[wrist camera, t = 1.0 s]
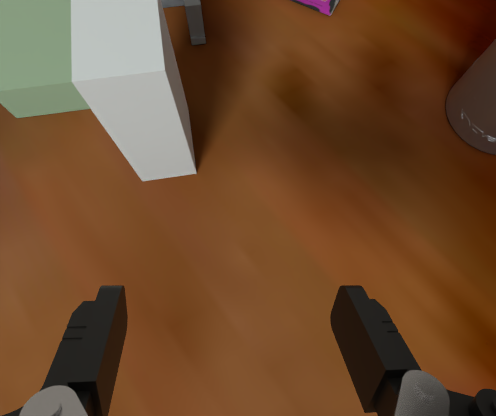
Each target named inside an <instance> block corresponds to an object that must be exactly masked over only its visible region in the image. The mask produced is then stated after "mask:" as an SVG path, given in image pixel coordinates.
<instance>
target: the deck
mask: <svg viewBox="0 0 496 416" xmlns="http://www.w3.org/2000/svg"><path fill="white" fill-rule="evenodd" d="M161 3H162V7H163V8H165V7H174V6H183V5H185V10H186V15H187V21H188V26H189V32H190V37H191V43H192V45H198V44H206V40H205V33H204V25H203V18H202V10H201V3H200V0H161ZM0 103H1V104H2V105H3V106H4V107H5V108H6V109H7V110H8V111H10V112H11V113H12V114H13V115H14V116H15V117H16V118H22V117H30V116H37V115H45V114H53V113H60V112H68V111H76V110H83V109H91V108H90V107H89V105H88V104H87V103H86V101H85V100H84V98H83V97H82V96H81V94H80V93H79V91H78V90H77V89H76V87H75V86H74V84H73V83H72V61H71V0H0Z"/></svg>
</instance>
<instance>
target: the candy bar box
mask: <svg viewBox="0 0 496 416" xmlns="http://www.w3.org/2000/svg"><path fill="white" fill-rule="evenodd" d="M291 1H293V2H296V3H298V4H301V5H304V6H306V7H309V8H311V9H314V10H316V11H319V12H321V13H324V14H326V15H329V16H331V14H332V13H333V11H334V9H335V7H336V6H337V4H338V2H339V1H340V0H291Z"/></svg>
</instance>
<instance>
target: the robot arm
mask: <svg viewBox="0 0 496 416" xmlns="http://www.w3.org/2000/svg"><path fill="white" fill-rule="evenodd" d="M446 112H447V117H448V119H449V122H450V124H451V126H452V127H453V129H454V130H455V132H456V133H457V134H458V135H459V136H460V137H461V138H462V139H463V140H464V141H465V142H467V143H468V144H469V145H471V146H473V147H475V148H477V149H479V150H480V151H484V152H487V153H490V154H496V39H495V40H494V41H493V43H492V44H491V45H490V46H489V47H488V48H487V49H486V50H485V51H484V53H483V54H482V55H481V56H480V57H479V58H478V59H477V60H476V61H475V62H474V63H473V65H472V66H471V67H470V68H469V69H468V70H467V71H466V72H465V74H464V75H463V76H462V77H461V78H460V79H459V80H458V81H457V82H456V84H455V85H454V86H453V87H452V89H451V90H450V91H449V94H448V96H447V99H446ZM331 327H332V330H333V333H334V335H335V338H336V341H337V343H338V346H339V348H340V351H341V353H342V356H343V358H344V361H345V364H346V366H347V369H348V371H349V374H350V376H351V379H352V381H353V384H354V387H355V389H356V392H357V394H358V397H359V399H360V402H361V404H362V407H363V410H364V412H365V413H370V412H377V414H378V416H496V391H495V390H492V389H482V390H480V391H479V392H478V393H477V394H476V396H475V397H472V396H468V395H464V394H460V393H457V392H453V391H449V390H446V389H445V387H444V386H443V385H442V384H441V383H440V382H439V381H438V380H437V379H436V378H435V377H433V376H432V375H430V374H428V373H426V372H424V371H422V370H421V369H420V367H419V365H418V364H417V362H416V360H415V358H414V357H413V355H412V353H411V352H410V350H409V348H408V347H407V345H406V343H405V341H404V340H403V338H402V336H401V335H400V333H398V329H397V328H396V326H395V324H394V323H393V322H392V319H391V318H390V316H389V314H388V312H387V311H386V309H385V308H384V307H383V306H382V305H380V304H379V303H378V302H377V301H376V300H375V299H369V298H368V296H367V294H366V292H365V290H364V289H363V287H362V286H340V288H339V290H338V293H337V296H336V299H335V302H334V305H333V308H332V311H331ZM126 331H127V307H126V297H125V288H124V286H101V287H100V289H99V292H98V295H97V297H96V300H95V301H83V302H82V303H81V305H80V306H79V307H78V308H77V309H76V310H75V311H74V312H73V313H72V315H71V318H70V320H69V323H68V325H67V329H66V330H65V333H64V335H63V338H62V341H61V343H60V345H59V347H58V350H57V352H56V355H55V357H54V360H53V362H52V365H51V367H50V370H49V372H48V375H47V377H46V380H45V382H44V384H43V386H42V388H41V390H40V391H39V392H38V393H36V394H35V395H34V396H32V397H31V398H30V399H29V400H28V401H27V402H26V404H25V405H24V406H23V407H21V408H19V409H17V410H16V411H13V412H11V413H8V414H5V415H2V416H108V412H109V408H110V403H111V399H112V394H113V390H114V385H115V381H116V376H117V372H118V367H119V363H120V358H121V354H122V349H123V345H124V340H125V336H126Z"/></svg>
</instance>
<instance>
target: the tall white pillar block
mask: <svg viewBox="0 0 496 416" xmlns="http://www.w3.org/2000/svg"><path fill="white" fill-rule="evenodd" d="M71 61H72V83H73V84H74V86H75V87H76V89H77V90H78V91H79V93H80V94H81V96H82V97H83V98H84V100H85V101H86V103H87V104H88V105H89V107H90V108H91V110H92V111H93V112H94V114H95V115H96V117H97V118H98V119H99V121H100V122H101V124H102V125H103V126H104V128H105V129H106V131H107V132H108V134H109V135H110V136H111V138H112V139H113V141H114V142H115V143H116V145H117V146H118V148H119V149H120V150H121V152H122V153H123V155H124V156H125V157H126V159H127V160H128V162H129V163H130V164H131V166H132V167H133V169H134V170H135V171H136V173H137V174H138V176H139V177H140V179H141V180H142V181H148V180H155V179H162V178H169V177H176V176H183V175H190V174H197V172H196V165H195V157H194V149H193V141H192V134H191V126H190V118H189V111H188V106H187V102H186V98H185V94H184V90H183V86H182V82H181V78H180V74H179V70H178V66H177V62H176V58H175V55H174V51H173V47H172V43H171V39H170V35H169V31H168V27H167V23H166V19H165V15H164V11H163V7H162V3H161V0H71Z"/></svg>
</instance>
